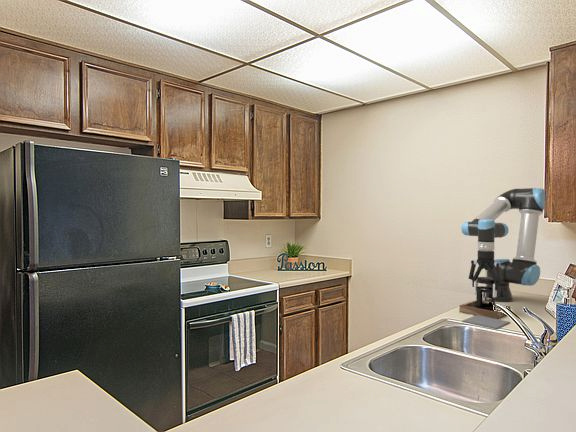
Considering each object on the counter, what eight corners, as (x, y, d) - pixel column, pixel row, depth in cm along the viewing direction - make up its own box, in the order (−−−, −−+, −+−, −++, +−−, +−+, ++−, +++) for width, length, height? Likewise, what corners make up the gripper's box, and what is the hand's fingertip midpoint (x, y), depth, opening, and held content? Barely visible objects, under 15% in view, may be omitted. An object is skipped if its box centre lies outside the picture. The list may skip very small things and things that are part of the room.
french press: (482, 308, 213) (483, 264, 213) (500, 312, 205) (501, 266, 205) (469, 311, 207) (469, 266, 206) (487, 315, 199) (487, 268, 198)
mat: (477, 316, 199) (477, 315, 199) (510, 323, 188) (510, 321, 188) (462, 321, 189) (462, 320, 189) (496, 329, 178) (496, 327, 178)
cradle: (475, 306, 218) (475, 300, 218) (510, 313, 205) (510, 306, 205) (459, 312, 207) (459, 305, 207) (495, 319, 194) (495, 312, 194)
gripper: (461, 249, 211) (460, 292, 211) (505, 252, 195) (504, 300, 195) (468, 248, 216) (467, 290, 216) (511, 251, 200) (510, 297, 200)
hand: (485, 295), depth 206 cm, fingers closed on french press, 9 cm apart
